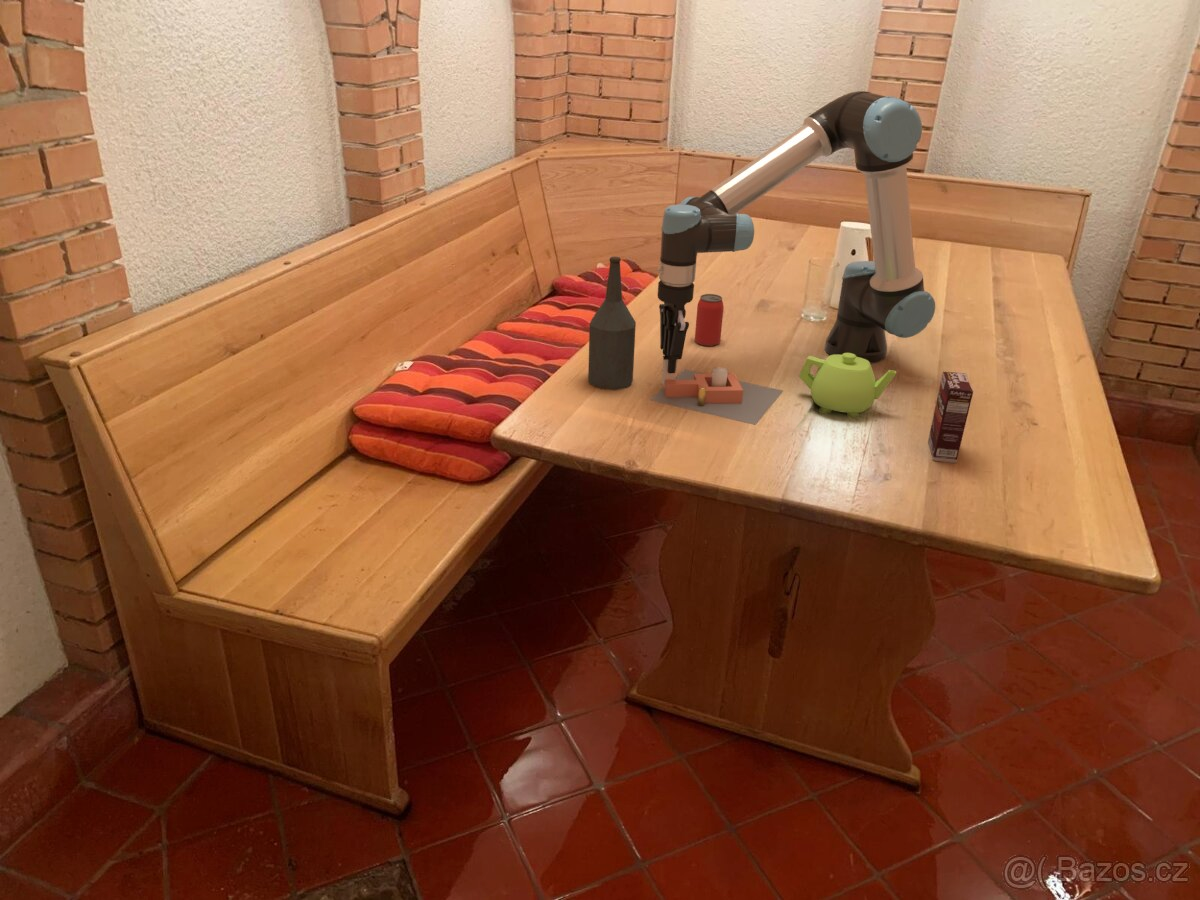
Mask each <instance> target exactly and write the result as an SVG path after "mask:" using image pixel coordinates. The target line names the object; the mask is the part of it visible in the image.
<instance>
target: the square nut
mask: <svg viewBox="0 0 1200 900" xmlns="http://www.w3.org/2000/svg"><path fill="white" fill-rule="evenodd" d="M712 374H713V373H705V374H694V379H693V380H665V386H664V387H665V390H664V393H665V396H666V397H698V390H699V387H700V386H703V387H706V396H705V403H742V397H743V389H742V387H741V385H740V383H739V381H740V380H738V377H737V375H736V374H735V373H730V372H729V373H728V372H727V382H726V387H711V385H712Z"/></svg>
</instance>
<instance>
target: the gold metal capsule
mask: <svg viewBox="0 0 1200 900" xmlns="http://www.w3.org/2000/svg"><path fill="white" fill-rule="evenodd" d="M705 396H706V387H703V386H700V387H699V390H698V401H697V405H698V406H704V405H705Z"/></svg>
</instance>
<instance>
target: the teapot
mask: <svg viewBox="0 0 1200 900" xmlns="http://www.w3.org/2000/svg"><path fill="white" fill-rule="evenodd" d="M812 365H813V366H816V367H817V368H818V370H817V371H816V373H815V375H813V374H812V373H810V371H811V369H812ZM896 375H897V371H896V370H892V369H888V370H887V371H886V372H885V373H884V374H883V375H882V376H881V377H879V379H878V380H877V381H876V378H875V375H874V370H873V368H872V365H871V363H870V362H869V361H868V360H866V359H863V358H860V357H856V355H855V354H852V353H843V354H842V355H828V356H827V357H826V358H825V359H823V358H819V357H815V356H812V355H808V356H807V358H806V359H805V362H804V364H803V366H802V368H801V371H800V372H799V375H798V378H799V379H800V380H801V381H802V383H804V384H805V385H806V387H808V388H809V389H810V395H811V398H812V400H813V402H814V403H815V404H816V405H817V406H819V408H818V411H819V412H820V413H822V414H830V413H831V411H835V412H841V413H847V416H848V418H852V419H857V418H860V414H859V413H864V412H866V411H867V410H869V408H870V407H871V406H872V405H873V404H874V401H875V400H878V399H879V397H880V396H881V395H882V394H883V392H884V391H885V389H886V388H887V387H888V385H890V383H891V381H892V380H893V379H894V378H895V376H896Z"/></svg>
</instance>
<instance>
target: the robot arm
mask: <svg viewBox="0 0 1200 900" xmlns="http://www.w3.org/2000/svg"><path fill="white" fill-rule="evenodd" d="M922 133H923V125H922V120H921V116H920V114H919V111H918V110H917V109H916V107H914V106H913V105H912V104H911V103H910V102H907V101H905V100H903V99H901V98H898V97H895V96H886V95H882V94H876V93H873V92H870V91H865V90H864V91H863V90H862V91H861V90H858V91H852V92H849V93H846V94H843V95H840V96H839V97H837V98H835V99H833V100H831V101H830V102H829V103H827V104H824V106H822V107H820V108H818V109H817V110H816V111H814V112H813V113H810V115H808V116H807V117H806V118H804V120H803V124H802V126H801V127H800V128H798V129H796V130H795V131H794V132H792V133H791V134H789V135H788V136H786V137H785V138H783V139H782V140H781V141H779V142H777V143H776V144H775V145H773V146H772V147H771V148H769V149H768V150H766V151H765V152H763V153H762V154H761V155H759V156H758V157H756V158H755V159H753V160H752V161H750V162H749V163H747V164H746V165H744V166H743V167H742V168H740V169H739V170H738V171H736V172H734V173H733V174H732V175H730V176H729V177H727V178H726V179H725V180H722V182H720V183H719V184H718V185H715V186H714V187H713V188H711V189H710V190H709V191H707V192H706V193H704V194H703V195H701V196H688V197H687V198H686V197H685V199H683V200H682V201H681V202H680V203H679V204H672V205H669V206H667V207H666V208H665V210H664V212H663V217H662V222H661V224H662V225H661V238H660V239H661V242H660V243H661V244H660V258H659V266H657V268H656V269H657V271H658V272H659V274H658V279H659V281H658V283H657V299H658V300H659V301H660V302H662V303H660V304H659V306H658V308H659V315H660V318H659V321H660V322H659V323H660V324H659V325H660V326H659V327H660V329H659V330H660V331H659V332H660V333H659V334H660V335H659V336H660V341H659V342H660V343H659V344H660V346H659V347H660V350H662V355H663V356H662V358H663V360H662V374H661V385H662V386H663V387H665V380H676V376H677V367H678V360H682V357H683V352H684V348H685V343H686V342H685V341H686V336H687V332H688V330H689V327H690V322H689V321H685V318H686V314H687V311H686V305H687V304H689V303H691V302H692V301H693V299H694V291H695V284H694V282H695V281H696V271H697V257H698V254H703V253H725V252H733V253H734V252H738V251H745V250H748V249H749V248H750V247H751V246H752V244H753V243H754V242H753V241H754V238H755V225H754V221H753V219H752V217H751V216H750V215H749V214H747V213H739V212H741V211H742V210H744V209H746V208H747V207H748V206H750V205H751V204H753V203H755V202H756V201H757V200H758V199H760V198H762V197H763V196H765V195H766V194H767V193H769V192H770V191H771V190H773V189H775V188H776V187H777V186H779V185H781V184H782V183H783V182H785V181H786V180H787V179H790V177H792V176H793V175H795V174H796V173H798V172H799V171H801V170H802V169H804V168H805V167H806V166H808V165H810V164H812V163H813V162H814V161H815V160H817V159H818V158H820V157H825V158H826V157H829V156H831V155H833V154H834V153H835V152H838V151H840V150H843V149H852V150H853V152H854V153H853V154H854V160H855V168H856V170H857V171H858V172H859V173H861V174H863V175H864V182H865V191H866V198H867V199H866V201H867V209H868V218H869V225H870V226H869V227H870V233H871V235H870V236H871V244H872V253H873V260H860V261H859V260H858V261H853V262H850V263H847V265H846V266H845V267H844V272H843V275H842V278H841V280H842V282H841V287H840V295H839V300H838V306H837V307H838V308H837V313H836V320H835V322H834V324H833V326H832V327H831V329H830V332H829V333H828V334H827V335H828V336H827V337H826V339H825V344H824V351H825V352H826V353H827V354H828V356H830V355H842V354H843V353H852V354H855V355H856V357H860V358H863V359H866V360H868V361H869V362H870V364H872V363H878V362H881V361H883V360H884V359H885V358H887V357H886V356H887V351H888V343H887V337H886V332H887V334H890V335H893V336H895V337H898V338H900V339H901V338H903V339H906V338H908V339H909V338H911V337H914V336H917V335H918V334H920V333H921V332H922V331H924V330H925V329H926V328H927V327H928V324H929V323H931V321H932V319H933V317H934V316H935V312H936V302H935V298H934V297H933V296H932V295H931V293H930V292H928V291H925V286H924V285H925V284H924V283H925V282H924V275H923V271H921V270H920V269H919V268H917V267H916V263H915V252H914V251H915V250H914V249H915V248H914V241H913V229H912V219H911V217H912V216H911V204H910V194H909V193H910V192H909V184H908V183H909V182H908V181H909V180H908V172H907V171H908V170H907V169H908V168H907V167H908V166H909V165H910V163H911V162H912V161H913V159H914V152H915V150H916V149H917V148H918V146H917V144H919V142H920V141H921V138H922Z"/></svg>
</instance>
